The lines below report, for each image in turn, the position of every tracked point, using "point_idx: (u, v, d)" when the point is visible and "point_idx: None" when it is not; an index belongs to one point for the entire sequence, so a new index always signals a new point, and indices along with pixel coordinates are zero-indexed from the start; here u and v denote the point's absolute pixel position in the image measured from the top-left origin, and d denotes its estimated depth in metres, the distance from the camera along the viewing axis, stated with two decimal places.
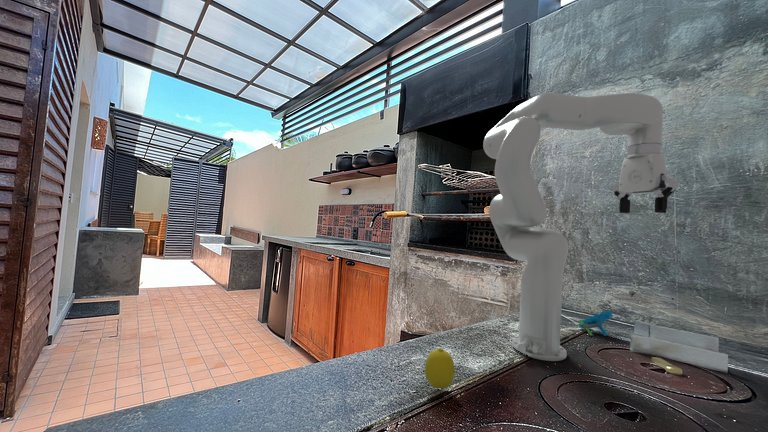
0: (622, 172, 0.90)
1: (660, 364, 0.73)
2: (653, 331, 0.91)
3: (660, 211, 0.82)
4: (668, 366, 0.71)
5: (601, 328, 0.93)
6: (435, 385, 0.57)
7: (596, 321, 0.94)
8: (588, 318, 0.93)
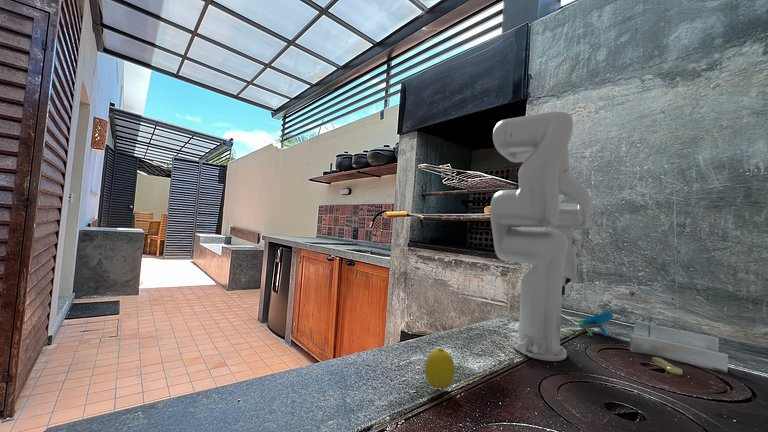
0: None
1: (660, 364, 0.73)
2: (653, 331, 0.91)
3: None
4: (668, 366, 0.71)
5: (602, 328, 0.93)
6: (435, 385, 0.57)
7: (597, 321, 0.94)
8: (588, 318, 0.93)
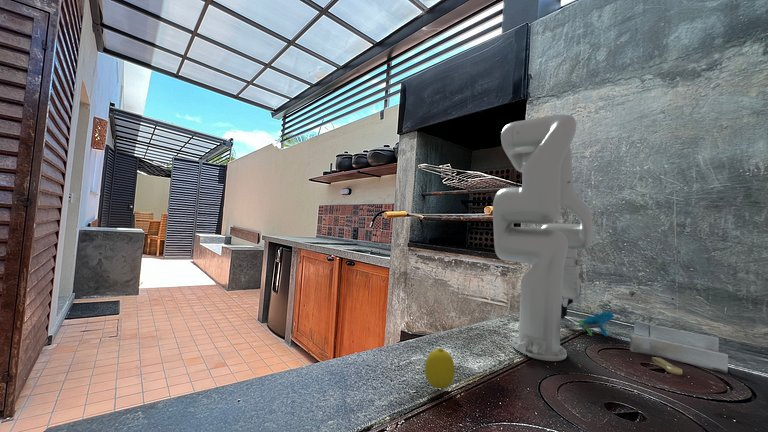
0: None
1: (660, 364, 0.73)
2: (653, 331, 0.91)
3: None
4: (668, 366, 0.71)
5: (602, 329, 0.93)
6: (435, 385, 0.57)
7: (597, 321, 0.94)
8: (588, 318, 0.93)
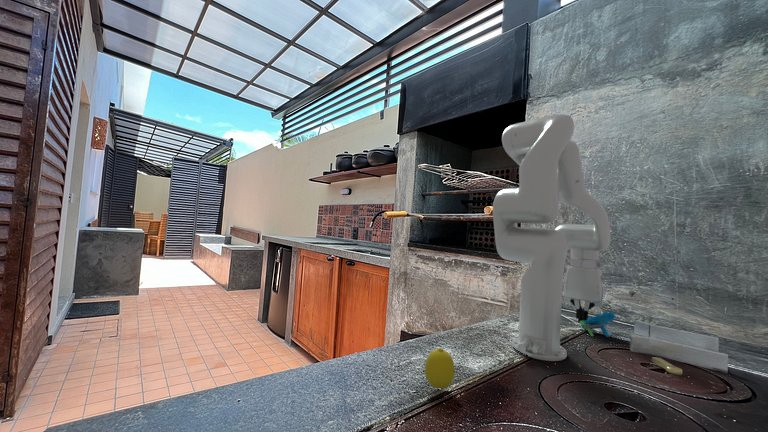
0: None
1: (660, 364, 0.73)
2: (653, 331, 0.91)
3: None
4: (668, 366, 0.71)
5: (603, 329, 0.92)
6: (435, 385, 0.57)
7: (598, 322, 0.94)
8: (589, 319, 0.92)
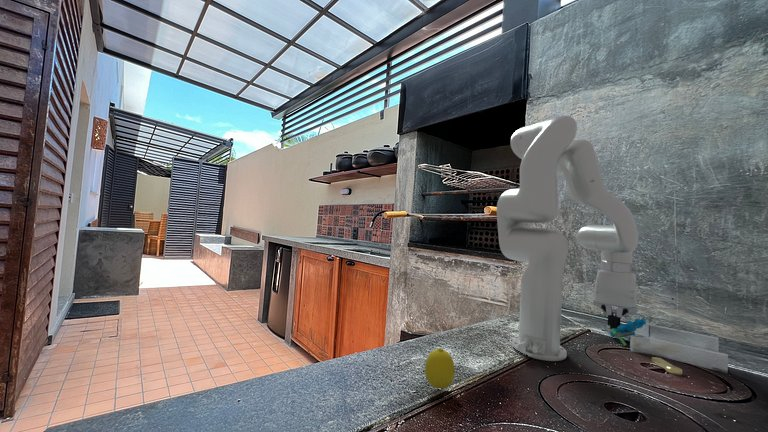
0: None
1: (660, 364, 0.73)
2: (653, 331, 0.91)
3: None
4: (668, 366, 0.71)
5: None
6: (435, 385, 0.57)
7: (629, 329, 0.88)
8: (621, 326, 0.86)
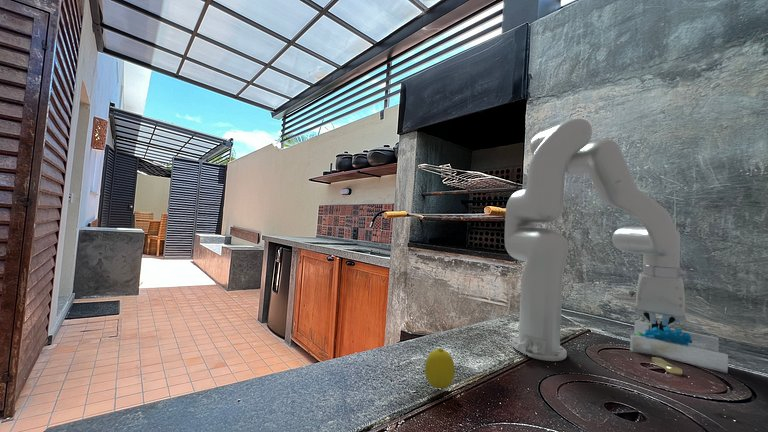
0: None
1: (660, 364, 0.73)
2: None
3: None
4: (668, 366, 0.71)
5: None
6: (435, 385, 0.57)
7: (664, 339, 0.81)
8: (645, 331, 0.83)
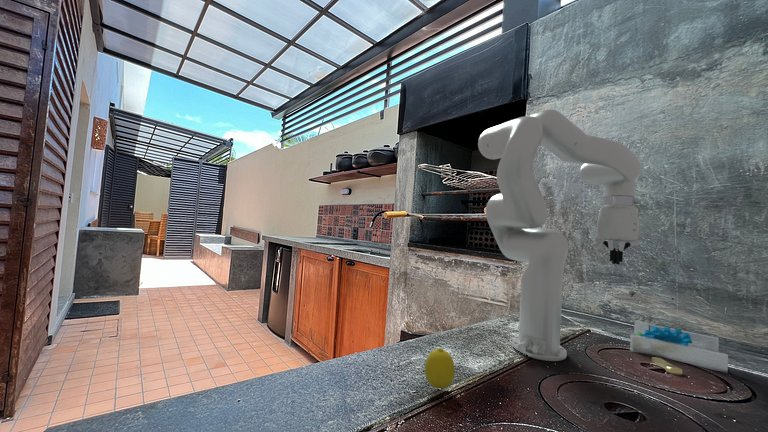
0: None
1: (660, 364, 0.73)
2: None
3: None
4: (668, 366, 0.71)
5: None
6: (435, 385, 0.57)
7: (663, 339, 0.81)
8: (645, 332, 0.83)
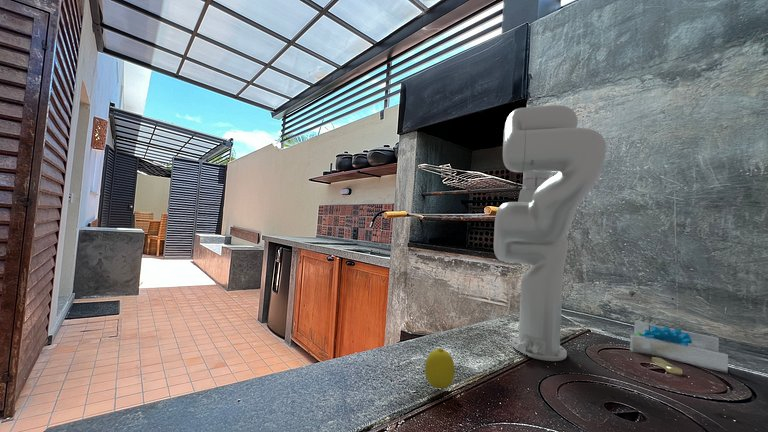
0: None
1: (660, 364, 0.73)
2: None
3: None
4: (668, 366, 0.71)
5: None
6: (435, 385, 0.57)
7: (663, 339, 0.81)
8: (645, 331, 0.83)
